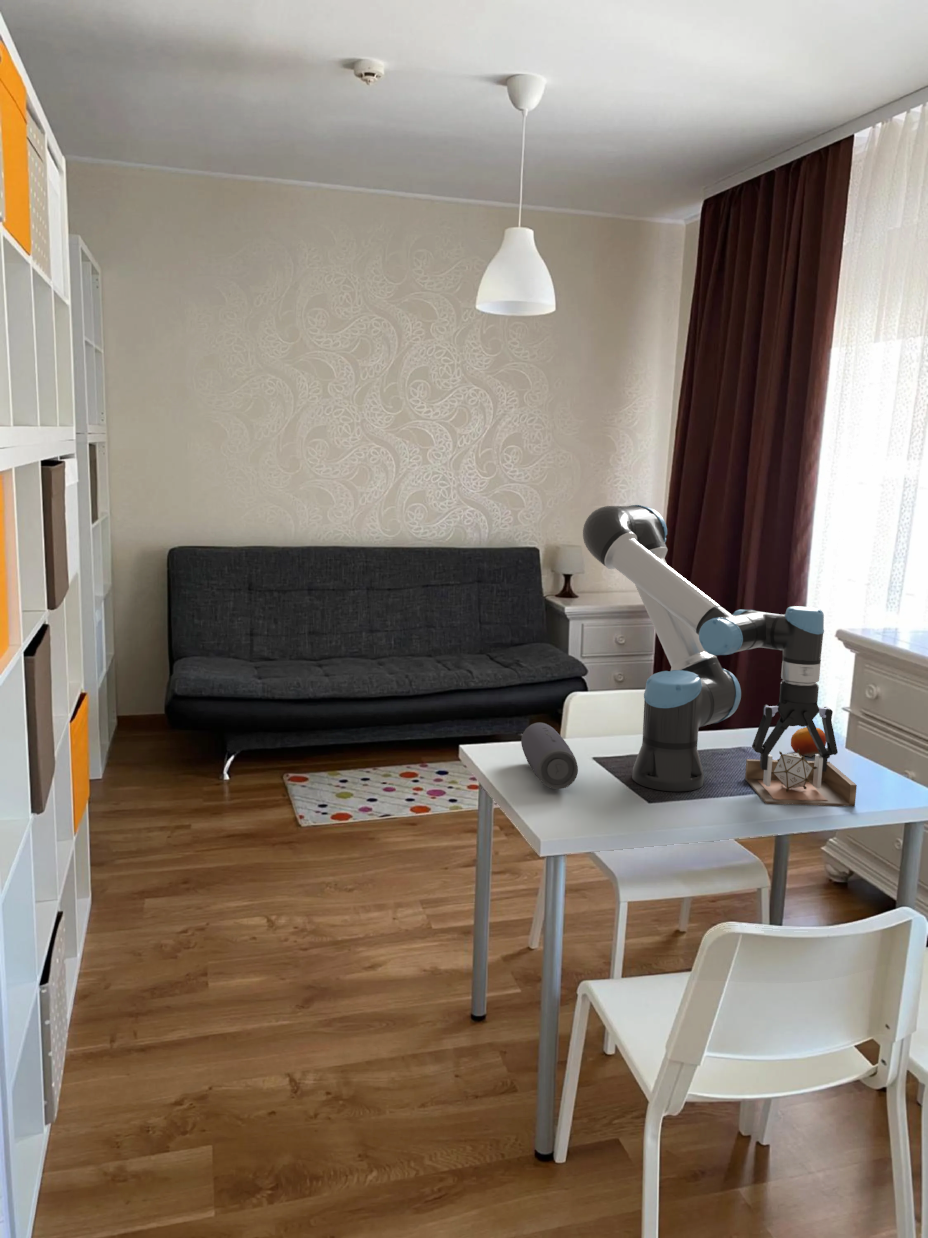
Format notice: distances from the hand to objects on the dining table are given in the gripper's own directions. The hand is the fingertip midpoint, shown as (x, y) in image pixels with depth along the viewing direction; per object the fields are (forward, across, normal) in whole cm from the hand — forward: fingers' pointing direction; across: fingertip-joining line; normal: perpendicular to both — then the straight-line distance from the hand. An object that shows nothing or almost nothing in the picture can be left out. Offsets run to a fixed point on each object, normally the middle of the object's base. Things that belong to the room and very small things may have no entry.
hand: (791, 785), depth 204 cm
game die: (+1, 0, 0) cm, 1 cm away
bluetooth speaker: (+2, -51, +5) cm, 51 cm away
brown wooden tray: (+2, +2, 0) cm, 2 cm away
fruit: (+2, +13, +29) cm, 32 cm away
